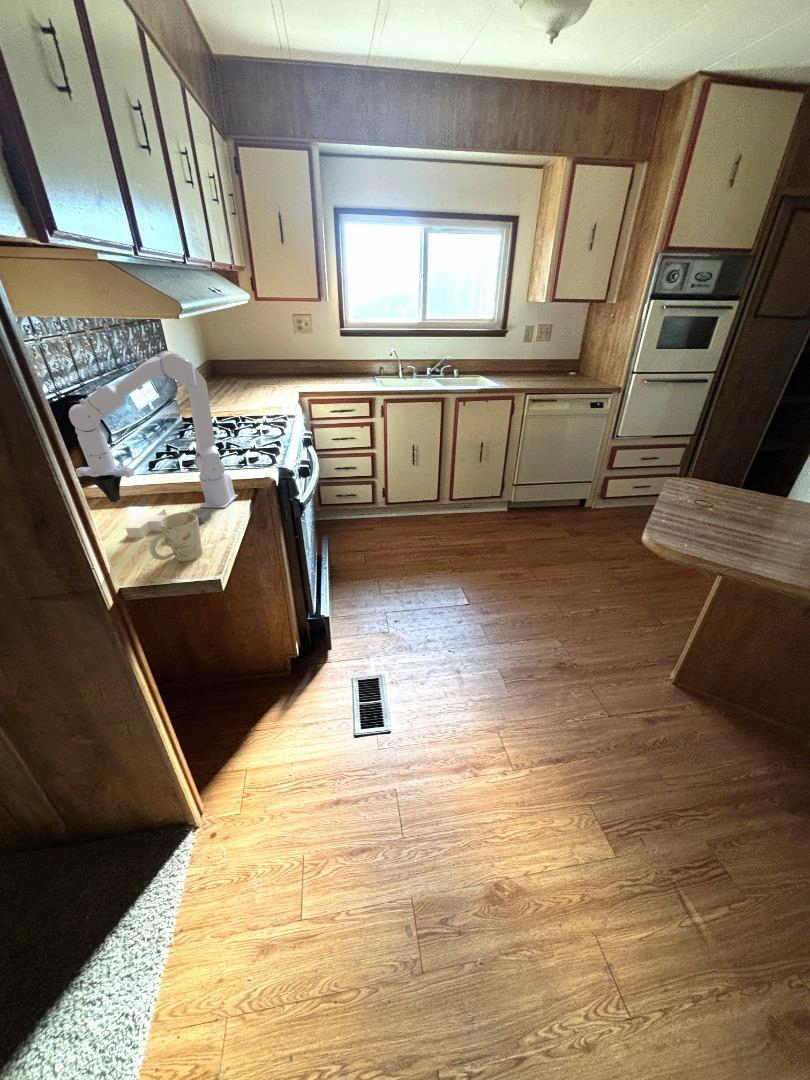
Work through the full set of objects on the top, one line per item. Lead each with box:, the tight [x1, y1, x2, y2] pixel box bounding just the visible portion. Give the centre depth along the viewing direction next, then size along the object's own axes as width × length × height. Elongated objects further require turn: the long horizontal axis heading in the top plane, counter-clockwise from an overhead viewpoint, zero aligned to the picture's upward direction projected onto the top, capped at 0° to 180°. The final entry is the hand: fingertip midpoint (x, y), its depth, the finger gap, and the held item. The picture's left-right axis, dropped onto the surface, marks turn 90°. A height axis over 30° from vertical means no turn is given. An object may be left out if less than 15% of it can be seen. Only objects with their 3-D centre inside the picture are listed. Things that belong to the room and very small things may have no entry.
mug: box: [149, 511, 203, 562], centre depth 103 cm, size 8×13×10 cm, turn 149°
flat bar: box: [164, 509, 212, 543], centre depth 119 cm, size 16×5×2 cm, turn 176°
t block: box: [125, 508, 171, 539], centre depth 119 cm, size 12×11×3 cm
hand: (115, 500), depth 117 cm, fingers closed
